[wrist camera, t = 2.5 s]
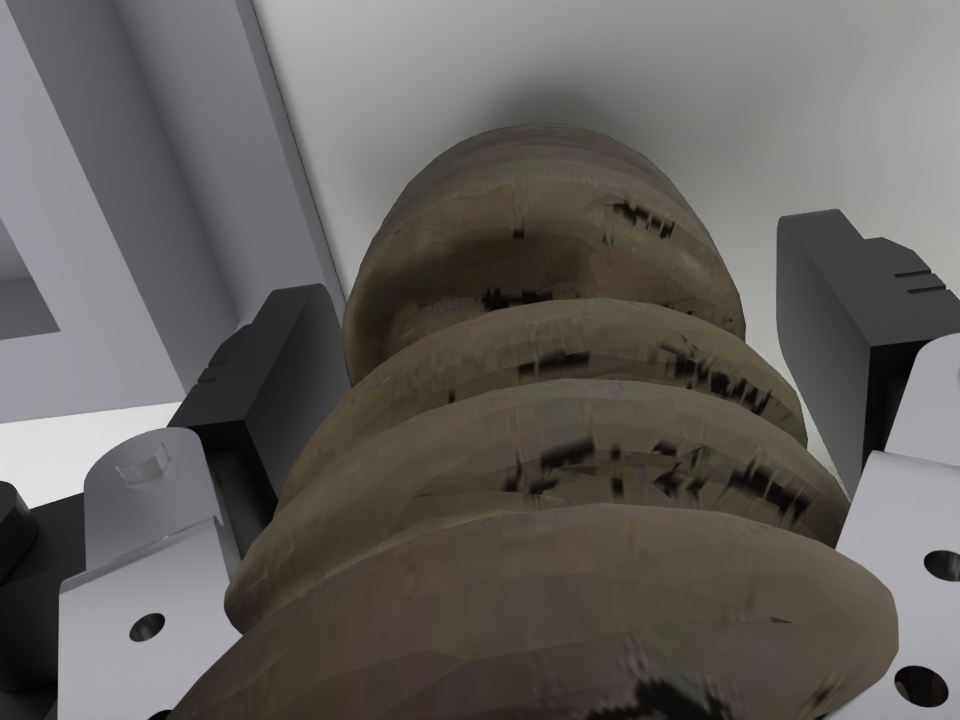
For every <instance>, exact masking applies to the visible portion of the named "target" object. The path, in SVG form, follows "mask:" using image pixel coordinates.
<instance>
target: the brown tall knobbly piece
mask: <svg viewBox="0 0 960 720" xmlns="http://www.w3.org/2000/svg"><path fill="white" fill-rule="evenodd" d="M745 332H746V323H745V319H744V314H743V309H742V305H741V300H740V295H739V293H738V291H737V289H736V286H735V284H734V282H733V280H732V278H731V276H730V274H729V272H728V270H727V268H726V266H725V264H724V262H723V260H722V258H721V256H720V254H719V252H718V250H717V248H716V246H715V244H714V242H713V240H712V238H711V236H710V234H709V232H708V231H707V229H706V228H705V226H704V225H703V224H702V222H701V221H700V219H699V218H698V217H697V215H696V214H695V212H694V211H693V210H692V208H691V207H690V206H689V204H688V203H687V201H686V200H685V199H684V197H683V196H682V195H681V193H680V192H679V191H678V189H677V188H676V187H675V186H674V184H673V183H672V182H671V180H670V179H669V178H668V177H667V176H666V175H665V174H664V173H663V172H661V171H660V170H659V169H658V168H657V167H656V166H655V165H654V164H653V163H651V162H650V161H649V160H648V159H647V158H646V157H644V156H643V155H641V154H639V153H638V152H636V151H634V150H632V149H630V148H628V147H627V146H625V145H623V144H621V143H619V142H617V141H615V140H613V139H611V138H609V137H607V136H605V135H603V134H599V133H595V132H591V131H587V130H584V129H580V128H576V127H572V126H568V125H564V124H527V125H520V126H514V127H507V128H501V129H496V130H492V131H488V132H483V133H481V134H479V135H476V136H474V137H471V138H469V139H467V140H464V141H462V142H459V143H458V144H456V145H455V146H453V147H452V148H450V149H449V150H447V151H445V152H444V153H442V154H441V155H439V156H438V157H436V158H435V159H434V160H433V161H432V162H431V163H430V164H429V165H428V166H427V167H426V168H425V169H423V170H422V171H421V172H420V173H419V174H418V175H417V176H416V177H415V178H414V179H413V180H412V181H410V182H409V183H408V184H407V186H406V187H405V189H404V190H403V192H402V193H401V195H400V196H399V198H398V199H397V201H396V202H395V204H394V205H393V207H392V208H391V210H390V211H389V213H388V214H387V216H386V218H385V219H384V221H383V223H382V225H381V227H380V230H379V231H378V232H377V234H376V235H375V236H374V238H373V239H372V241H371V244H370V246H369V248H368V250H367V252H366V254H365V256H364V259H363V261H362V263H361V265H360V269H359V272H358V275H357V278H356V281H355V283H354V286H353V289H352V292H351V294H350V297H349V300H348V303H347V305H346V308H345V311H344V315H343V323H342V340H343V349H344V359H345V366H346V369H347V373H348V377H349V381H350V385H351V388H352V389H351V390H350V391H348V392H347V394H346V395H345V396H344V397H343V398H342V400H341V401H340V402H339V403H338V404H337V406H336V407H335V408H334V409H333V410H332V412H331V413H330V414H329V415H328V417H327V418H326V419H325V420H324V421H323V423H322V424H321V425H320V426H319V427H318V429H317V430H316V432H315V433H314V434H313V436H312V437H311V438H310V440H309V441H308V443H307V444H306V446H305V447H304V449H303V451H302V452H301V454H300V455H299V457H298V458H297V460H296V461H295V463H294V464H293V466H292V467H291V469H290V472H289V475H288V477H287V480H286V483H285V486H284V488H283V491H282V494H281V497H280V499H279V502H278V505H277V508H276V510H275V513H274V516H273V520H272V521H271V523H270V524H269V525H268V526H267V527H266V528H265V529H264V530H263V532H262V533H261V534H260V535H259V536H258V537H257V538H256V540H255V541H254V542H253V543H252V544H251V546H250V548H249V550H248V551H247V553H246V555H245V557H244V559H243V560H242V562H241V564H240V566H239V568H238V569H237V571H236V573H235V575H234V577H233V578H232V580H231V582H230V584H229V586H228V587H227V589H226V591H225V596H224V612H225V613H226V615H227V617H228V619H229V621H230V623H231V625H232V626H233V627H234V628H235V629H236V630H237V631H238V632H239V633H240V634H242V635H243V636H242V637H241V638H240V639H239V640H238V641H237V642H236V643H235V644H234V645H233V646H232V647H231V648H230V649H229V650H228V651H227V652H226V653H224V654H223V655H222V656H221V657H220V658H219V659H218V660H217V661H216V662H215V663H214V664H213V665H212V666H211V667H210V668H209V669H208V670H207V671H206V672H205V673H204V674H203V675H202V676H201V677H200V678H199V679H198V680H197V681H196V682H195V684H194V685H193V686H192V687H191V688H190V690H189V691H188V692H187V693H186V694H185V695H184V697H183V698H182V699H181V700H180V701H179V703H178V704H177V705H176V706H175V707H174V709H173V710H172V711H171V712H170V713H169V714H168V716H167V718H166V719H165V720H822V719H823V718H824V717H826V716H827V715H828V714H829V713H830V712H831V711H833V710H834V709H835V708H837V707H839V706H840V705H842V704H843V703H845V702H846V701H848V700H849V699H851V698H853V697H854V696H856V695H857V694H859V693H860V692H862V691H864V690H865V689H867V688H868V687H870V686H871V685H873V684H875V683H876V682H878V681H879V680H880V679H881V678H883V677H884V676H885V674H886V673H887V671H888V669H889V667H890V666H891V664H892V662H893V660H894V658H895V657H896V655H897V653H898V651H899V629H898V615H897V610H896V606H895V602H894V598H893V595H892V593H891V591H890V590H889V589H888V588H887V587H886V586H885V585H884V584H883V583H882V582H881V581H880V580H879V579H878V578H877V577H876V576H875V575H874V574H872V573H871V572H870V571H869V570H867V569H866V568H865V567H864V566H862V565H860V564H858V563H857V562H855V561H853V560H851V559H850V558H848V557H846V556H845V555H843V554H841V553H839V552H838V551H836V550H835V549H836V546H837V543H838V541H839V538H840V535H841V532H842V529H843V527H844V524H845V521H846V518H847V516H848V513H849V510H850V507H851V504H850V503H849V501H848V499H847V498H846V496H845V494H844V492H843V491H842V489H841V487H840V486H839V484H838V482H837V480H836V479H835V477H834V476H833V475H832V474H831V473H830V472H828V471H827V470H826V469H825V468H824V467H823V466H822V465H821V464H820V463H819V462H818V461H817V460H816V459H815V458H814V457H813V456H812V455H811V454H810V453H809V452H808V451H807V442H808V437H807V432H806V427H805V423H804V418H803V413H802V409H801V404H800V401H799V398H798V396H797V393H796V391H795V390H794V389H793V388H792V387H791V386H790V384H789V383H788V382H787V381H786V380H785V379H784V378H783V377H782V376H781V375H780V374H779V373H778V372H777V371H776V370H775V369H774V368H773V367H772V366H771V365H769V364H768V363H767V362H766V361H765V360H764V359H763V358H762V357H760V356H759V355H758V354H757V353H756V352H755V351H754V350H753V349H751V348H750V347H749V346H748V345H747V344H746V343H745ZM895 687H896V689H897V691H898V692H899V694H900V695H901V696H902V697H903V698H904V699H906V700H907V701H909V702H910V699H909V696H908V694H907V691H906V689H905V687H904V686H903V684H902V683H901V682H899V681H898V682H896V684H895ZM910 703H911V702H910Z"/></svg>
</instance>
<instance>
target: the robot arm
mask: <svg viewBox="0 0 960 720" xmlns="http://www.w3.org/2000/svg"><path fill="white" fill-rule="evenodd" d="M776 320H777V331H778V338H779V343H780V348H781V351H782V354H783V357H784V360H785V362H786V364H787V366H788V368H789V370H790V372H791V374H792V376H793V379H794V381H795V383H796V385H797V387H798V389H799V391H800V393H801V395H802V397H803V400H804V402H805V404H806V406H807V408H808V410H809V412H810V414H811V416H812V418H813V421H814V423H815V425H816V427H817V429H818V431H819V433H820V435H821V437H822V439H823V442H824V444H825V446H826V448H827V450H828V452H829V454H830V456H831V458H832V460H833V463H834V465H835V467H836V469H837V471H838V473H839V475H840V477H841V479H842V481H843V484H844V486H845V488H846V490H847V492H848V494H849V496H850V498H851V500H852V504H851V507H850V510H849V513H848V516H847V518H846V521H845V524H844V527H843V529H842V532H841V535H840V538H839V541H838V543H837V546H836V549H835V550H836V551H838V552H839V553H841V554H843V555H845V556H846V557H848V558H850V559H851V560H853V561H855V562H857V563H858V564H860V565H862V566H864V567H865V568H866V569H867V570H869V571H870V572H871V573H872V574H874V575H875V576H876V577H877V578H878V579H879V580H880V581H881V582H882V583H883V584H884V585H885V586H886V587H887V588H888V589H889V590H890V591H891V593H892V595H893V598H894V602H895V606H896V610H897V615H898V629H899V651H898V653H897V655H896V657H895V658H894V660H893V662H892V664H891V666H890V667H889V669H888V671H887V673H886V674H885V676H884V677H883V678H881V679H880V680H879V681H878V682H876V683H875V684H873V685H871V686H870V687H868V688H867V689H865V690H864V691H862V692H860V693H859V694H857V695H856V696H854V697H853V698H851V699H849V700H848V701H846V702H845V703H843V704H842V705H840V706H839V707H837V708H835V709H834V710H833V711H831V712H830V713H829V714H828V715H827V716H826V717H824V718H823V719H822V720H960V300H959V299H958V298H957V297H956V296H955V295H954V294H953V293H952V291H951V290H950V289H948V290H946V285H945V284H944V283H943V282H942V281H941V280H940V279H939V278H938V276H937V275H936V274H935V273H934V274H932V273H931V269H930V268H929V267H928V266H927V265H926V264H925V263H924V261H923V260H922V259H921V258H920V257H919V256H918V255H917V254H916V253H915V252H914V251H913V250H910V249H908V248H906V247H904V246H901V245H899V244H897V243H895V242H892V241H890V240H888V239H885V238H883V237H879V238H872V239H865V240H864V239H863V237H862V236H861V235H860V234H859V233H858V231H857V230H856V229H855V228H854V227H853V225H852V224H851V223H850V222H849V221H848V219H847V218H846V217H845V216H844V215H843V213H842V212H841V211H840V210H839V209H830V210H824V211H817V212H810V213H803V214H796V215H789V216H782V217H781V218H780V219H779V222H778V227H777V275H776ZM197 383H198V384H196V385H194V386H193V387H192V389H191V390H190V392H189V393H188V395H187V396H186V398H185V399H184V401H183V402H182V404H181V405H180V407H179V408H178V410H177V411H176V413H175V414H174V416H173V417H172V419H171V420H170V422H169V424H168V425H167V427H166V428H161V429H156V430H152V431H149V432H146V433H143V434H140V435H137V436H135V437H133V438H131V439H128V440H127V441H125V442H123V443H121V444H119V445H118V446H116V447H114V448H113V449H111V450H110V451H109V452H107V453H106V454H105V455H103V456H102V457H101V458H100V459H99V460H98V461H97V462H96V463H95V464H94V465H93V467H92V468H91V469H90V471H89V472H88V474H87V476H86V478H85V481H84V492H83V493H80V494H76V495H73V496H70V497H67V498H64V499H61V500H58V501H54V502H51V503H48V504H45V505H42V506H39V507H35V508H32V509H29V508H28V507H27V505H26V504H25V502H24V501H23V499H22V498H21V496H20V494H19V493H18V491H17V490H16V488H15V487H14V486H13V485H12V484H10V483H8V482H4V481H0V720H165V719H166V718H167V716H168V714H169V713H170V712H171V711H172V710H173V709H174V707H175V706H176V705H177V704H178V703H179V701H180V700H181V699H182V698H183V697H184V695H185V694H186V693H187V692H188V691H189V690H190V688H191V687H192V686H193V685H194V684H195V682H196V681H197V680H198V679H199V678H200V677H201V676H202V675H203V674H204V673H205V672H206V671H207V670H208V669H209V668H210V667H211V666H212V665H213V664H214V663H215V662H216V661H217V660H218V659H219V658H220V657H221V656H222V655H223V654H224V653H226V652H227V651H228V650H229V649H230V648H231V647H232V646H233V645H234V644H235V643H236V642H237V641H238V640H239V639H240V638H241V637H242V636H243V635H242V634H240V633H239V632H238V631H237V630H236V629H235V628H234V627H233V626H232V625H231V623H230V621H229V619H228V617H227V615H226V613H225V612H224V596H225V591H226V589H227V587H228V586H229V584H230V582H231V580H232V578H233V577H234V575H235V573H236V571H237V569H238V568H239V566H240V564H241V562H242V560H243V559H244V557H245V555H246V553H247V551H248V550H249V548H250V546H251V544H252V543H253V542H254V541H255V540H256V538H257V537H258V536H259V535H260V534H261V533H262V532H263V530H264V529H265V528H266V527H267V526H268V525H269V524H270V523H271V521H272V520H273V516H274V513H275V510H276V508H277V505H278V502H279V499H280V497H281V494H282V491H283V488H284V486H285V483H286V480H287V477H288V475H289V472H290V469H291V467H292V466H293V464H294V463H295V461H296V460H297V458H298V457H299V455H300V454H301V452H302V451H303V449H304V447H305V446H306V444H307V443H308V441H309V440H310V438H311V437H312V436H313V434H314V433H315V432H316V430H317V429H318V427H319V426H320V425H321V424H322V423H323V421H324V420H325V419H326V418H327V417H328V415H329V414H330V413H331V412H332V410H333V409H334V408H335V407H336V406H337V404H338V403H339V402H340V401H341V400H342V398H343V397H344V396H345V395H346V394H347V392H348V391H350V390H351V389H352V388H351V385H350V381H349V377H348V373H347V369H346V366H345V359H344V349H343V340H342V330H341V327H340V324H339V320H338V317H337V314H336V311H335V308H334V305H333V302H332V299H331V296H330V294H329V292H328V290H327V288H326V287H325V286H324V285H323V284H321V283H316V284H310V285H303V286H296V287H289V288H282V289H275V290H273V291H272V292H271V293H270V294H269V296H268V297H267V299H266V301H265V302H264V304H263V305H262V307H261V309H260V310H259V312H258V313H257V315H256V317H255V318H254V320H253V321H252V323H251V324H247V325H244V326H243V327H242V328H241V329H239V330H238V331H237V332H235V333H234V334H233V335H232V336H230V337H229V338H228V339H227V340H225V341H224V342H223V343H222V344H221V345H220V346H219V348H218V349H217V351H216V352H215V354H214V355H213V357H212V358H211V360H210V361H209V363H208V368H205V369H204V371H203V372H202V374H201V375H200V377H199V378H198V380H197ZM898 681H899V682H901V683H902V684H903V686H904V687H905V689H906V691H907V694H908V696H909V699H910V702H911V703H910V702H909V701H907V700H906V699H904V698H903V697H902V696H901V695H900V694H899V692H898V691H897V689H896V687H895V684H896V682H898Z"/></svg>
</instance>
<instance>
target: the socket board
mask: <svg viewBox="0 0 960 720" xmlns="http://www.w3.org/2000/svg"><path fill="white" fill-rule="evenodd" d="M316 283H321V284H323V285H324V286H325V287H326V288H327V290H328V292H329V294H330V296H331V299H332V302H333V305H334V308H335V311H336V314H337V317H338V320H339V324H340V327H341V330H342V323H343V315H344V311H345V308H346V303H345V300H344V297H343V294H342V290H341V287H340V284H339V281H338V278H337V274H336V271H335V268H334V265H333V262H332V258H331V255H330V252H329V249H328V246H327V242H326V239H325V236H324V233H323V229H322V226H321V223H320V220H319V217H318V213H317V210H316V207H315V204H314V201H313V197H312V194H311V191H310V188H309V185H308V181H307V178H306V175H305V172H304V169H303V165H302V162H301V159H300V156H299V153H298V149H297V146H296V143H295V140H294V137H293V133H292V130H291V127H290V124H289V121H288V117H287V114H286V111H285V108H284V105H283V101H282V98H281V95H280V92H279V89H278V85H277V82H276V79H275V76H274V72H273V69H272V66H271V63H270V60H269V56H268V53H267V50H266V47H265V44H264V40H263V37H262V34H261V31H260V28H259V24H258V21H257V18H256V15H255V12H254V8H253V5H252V2H251V0H0V424H1V423H9V422H17V421H25V420H33V419H42V418H50V417H58V416H66V415H75V414H83V413H91V412H99V411H107V410H116V409H124V408H132V407H140V406H148V405H157V404H165V403H173V402H181V401H184V399H185V398H186V396H187V395H188V393H189V392H190V390H191V389H192V387H193V386H194V385H196V384H198V383H197V380H198V378H199V377H200V375H201V374H202V372H203V371H204V369H205V368H208V363H209V361H210V360H211V358H212V357H213V355H214V354H215V352H216V351H217V349H218V348H219V346H220V345H221V344H222V343H223V342H224V341H225V340H227V339H228V338H229V337H230V336H232V335H233V334H234V333H235V332H237V331H238V330H239V329H241V328H242V327H243V326H244V325H247V324H251V323H252V321H253V320H254V318H255V317H256V315H257V313H258V312H259V310H260V309H261V307H262V305H263V304H264V302H265V301H266V299H267V297H268V296H269V294H270V293H271V292H272V291H273V290H275V289H282V288H289V287H296V286H303V285H310V284H316Z"/></svg>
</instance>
